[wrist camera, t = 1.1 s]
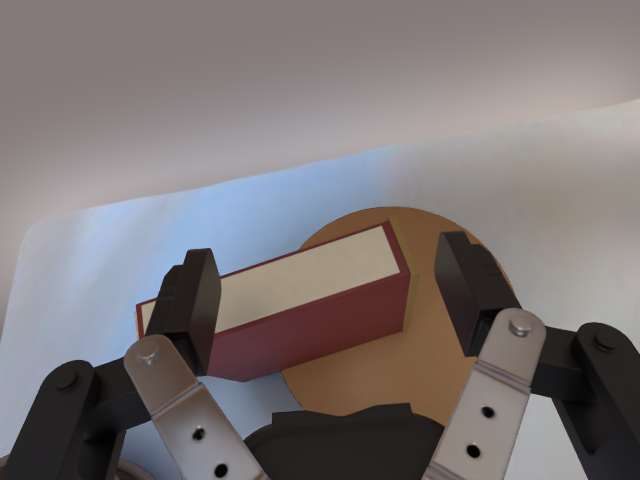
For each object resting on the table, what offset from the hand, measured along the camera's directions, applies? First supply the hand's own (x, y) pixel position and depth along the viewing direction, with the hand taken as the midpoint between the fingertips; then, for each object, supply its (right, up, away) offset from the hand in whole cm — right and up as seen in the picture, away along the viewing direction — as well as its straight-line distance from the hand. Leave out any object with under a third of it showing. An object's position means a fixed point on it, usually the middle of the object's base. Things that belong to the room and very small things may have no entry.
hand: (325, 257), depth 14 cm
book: (+4, -6, +20) cm, 21 cm away
